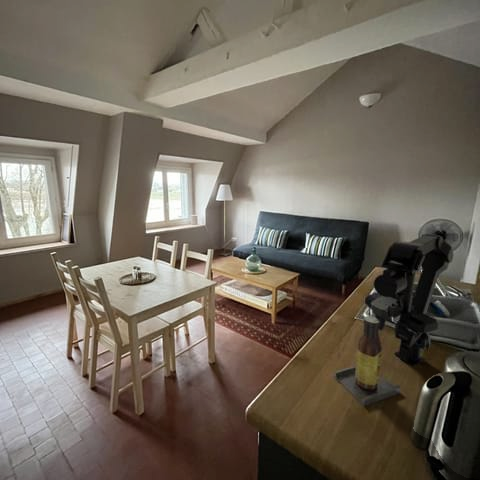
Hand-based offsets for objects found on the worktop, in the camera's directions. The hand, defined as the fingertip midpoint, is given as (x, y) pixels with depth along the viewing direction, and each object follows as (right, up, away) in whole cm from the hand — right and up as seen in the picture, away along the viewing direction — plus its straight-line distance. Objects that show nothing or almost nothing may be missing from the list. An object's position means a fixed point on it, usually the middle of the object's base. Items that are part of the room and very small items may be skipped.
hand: (394, 337), depth 77 cm
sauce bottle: (-8, -13, 0) cm, 16 cm away
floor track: (-8, -13, 0) cm, 16 cm away
